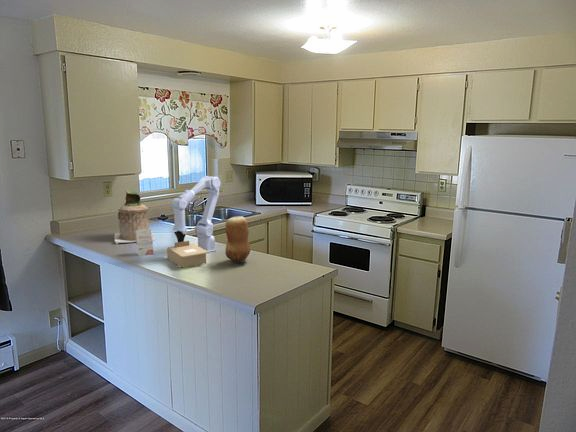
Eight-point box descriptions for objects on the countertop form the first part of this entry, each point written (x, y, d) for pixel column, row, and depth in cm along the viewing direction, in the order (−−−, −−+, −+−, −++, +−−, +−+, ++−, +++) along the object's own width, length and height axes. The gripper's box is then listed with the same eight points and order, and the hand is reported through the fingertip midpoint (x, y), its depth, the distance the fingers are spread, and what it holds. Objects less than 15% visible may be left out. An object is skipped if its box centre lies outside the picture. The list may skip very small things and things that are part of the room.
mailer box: (191, 254, 243) (190, 244, 242) (206, 263, 227) (205, 252, 226) (167, 258, 235) (166, 248, 234) (181, 268, 219) (180, 256, 218)
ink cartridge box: (153, 252, 248) (152, 227, 245) (153, 254, 243) (151, 229, 240) (138, 253, 245) (136, 228, 242) (137, 255, 241) (135, 230, 238)
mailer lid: (192, 244, 240) (192, 239, 240) (208, 253, 224) (208, 247, 223) (167, 248, 232) (167, 243, 231) (182, 257, 216) (181, 251, 215)
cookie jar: (156, 241, 271) (153, 191, 265) (114, 245, 262) (110, 193, 256) (152, 232, 294) (150, 186, 287) (114, 235, 285) (110, 188, 279)
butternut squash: (223, 259, 233) (222, 215, 228) (247, 257, 238) (246, 213, 233) (229, 267, 221) (227, 220, 216) (254, 264, 225) (253, 218, 220)
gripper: (167, 218, 236) (169, 242, 239) (177, 223, 225) (178, 248, 227) (180, 217, 240) (181, 240, 243) (190, 221, 229) (191, 246, 231)
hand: (180, 244), depth 235 cm, fingers closed
